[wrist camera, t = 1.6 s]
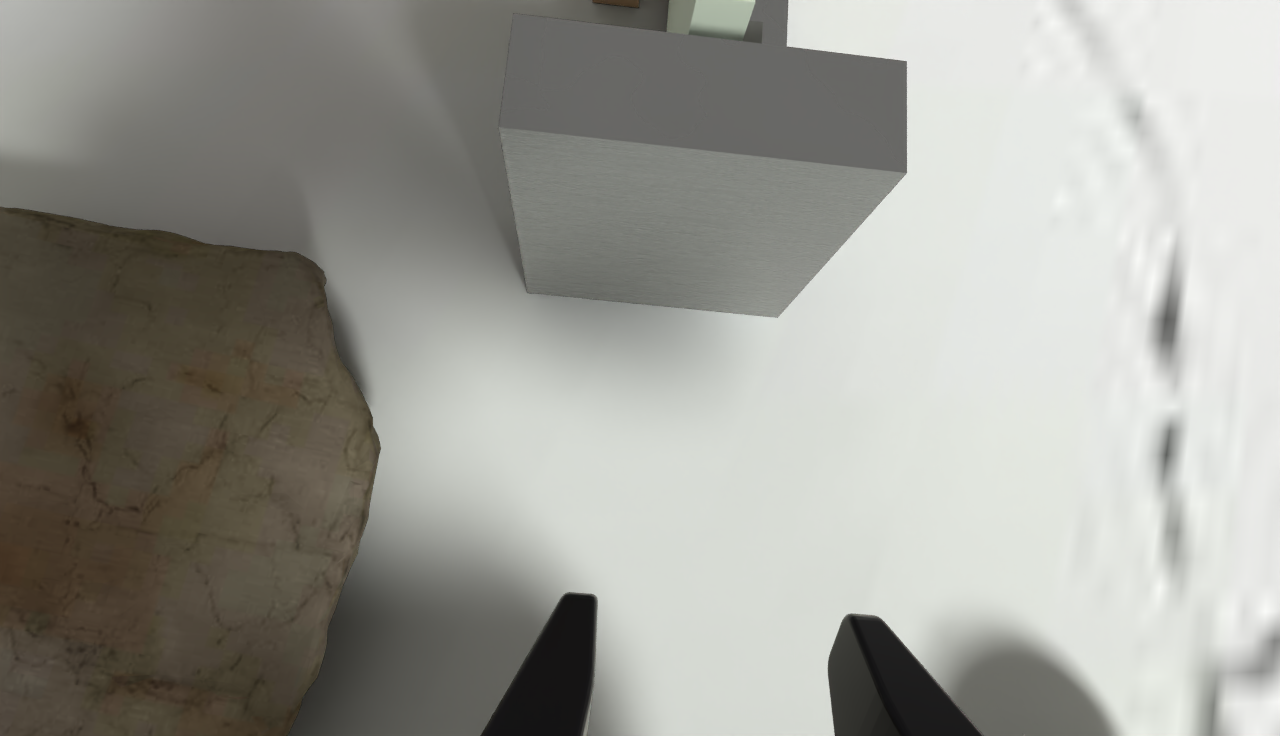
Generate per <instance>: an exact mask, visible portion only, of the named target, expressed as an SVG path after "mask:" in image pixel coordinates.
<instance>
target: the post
mask: <svg viewBox="0 0 1280 736" xmlns="http://www.w3.org/2000/svg"><path fill="white" fill-rule="evenodd" d="M593 2H595V3H603V4H611V5H619V6H627V7H635V8H638V7H639V0H593Z"/></svg>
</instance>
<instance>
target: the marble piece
mask: <svg viewBox="0 0 1280 736" xmlns="http://www.w3.org/2000/svg"><path fill="white" fill-rule="evenodd" d="M325 284H326V278H325V275H324V271H323V270H322V269H320V268H319V267H318V266H317V265H316V264H315V263H314V262H313V261H311V260H309V259H308V258H306V257H304V256H302V255H300V254H299V253H297V252H282V251H267V250H256V249H248V248H241V247H235V246H224V245H212V244H205V243H202V242H199V241H197V240H194V239H191V238H188V237H185V236H182V235H179V234H176V233H171V232H166V231H160V230H136V229H129V228H122V227H115V226H109V225H105V224H101V223H97V222H91V221H87V220H83V219H78V218H73V217H67V216H61V215H55V214H50V213H44V212H38V211H32V210H26V209H19V208H4V207H0V736H288V734H289V732H290V730H291V727H292V725H293V723H294V721H295V719H296V717H297V714H298V712H299V710H300V706H301V702H302V698H303V696H304V694H305V693H306V692H307V690H308V689H309V688H310V686H311V685H312V684H313V682H314V681H315V680H316V678H317V677H318V673H319V670H320V667H321V664H322V661H323V658H324V654H325V650H326V646H327V629H328V626H329V624H330V621H331V619H332V616H333V614H334V611H335V609H336V606H337V603H338V600H339V597H340V593H341V590H342V587H343V585H344V582H345V580H346V578H347V575H348V573H349V571H350V568H351V566H352V564H353V562H354V560H355V558H356V556H357V554H358V548H359V543H360V539H361V537H362V534H363V531H364V529H365V526H366V523H367V520H368V515H369V506H370V500H371V494H372V489H373V484H374V479H375V474H376V468H377V463H378V458H379V453H380V450H381V447H380V442H379V437H378V435H377V433H376V431H375V429H374V427H373V417H372V414H371V412H370V409H369V407H368V405H367V403H366V401H365V399H364V397H363V395H362V393H361V391H360V389H359V387H358V385H357V384H356V382H355V380H354V378H353V376H352V375H351V373H350V372H349V371H348V370H347V368H346V367H345V366H344V364H343V363H342V362H341V360H340V357H339V354H338V351H337V348H336V344H335V340H334V331H333V323H332V320H331V318H330V315H329V312H328V308H327V299H326V294H325V290H324V286H325Z"/></svg>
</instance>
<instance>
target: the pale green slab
mask: <svg viewBox="0 0 1280 736" xmlns="http://www.w3.org/2000/svg"><path fill="white" fill-rule="evenodd" d="M754 5H755V0H669V7H668V20H667V32H671V33H679V34H687V35H695V36H704V37H712V38H720V39H728V40H736V41H745V42H753V43H761V44H762V30H763V22H757V21H749V20H750V17H751V14H752V11H753V8H754Z"/></svg>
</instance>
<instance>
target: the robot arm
mask: <svg viewBox="0 0 1280 736" xmlns="http://www.w3.org/2000/svg"><path fill="white" fill-rule="evenodd" d="M597 606H598V601H597V597H596V596H595V595H594V594H586V593H573V592H568V593H565V594H564V595H563V596H562V597H561V599H560V600H559V602H558V604H557V606H556V607H555V609H554V611H553V612H552V614H551V616H550V618H549V619H548V621H547V623H546V624H545V626H544V628H543V630H542V631H541V633H540V635H539V636H538V638H537V640H536V642H535V643H534V645H533V647H532V649H531V650H530V652H529V654H528V655H527V657H526V659H525V661H524V662H523V664H522V666H521V667H520V669H519V671H518V673H517V674H516V676H515V678H514V679H513V681H512V683H511V685H510V686H509V688H508V690H507V691H506V693H505V695H504V697H503V698H502V700H501V702H500V703H499V705H498V707H497V709H496V710H495V712H494V714H493V715H492V717H491V719H490V721H489V722H488V724H487V726H486V728H485V729H484V731H483V733H482V734H481V736H587V733H588V726H589V718H590V710H591V703H592V695H593V688H594V677H595V659H596V632H597ZM828 679H829V688H830V697H831V706H832V715H833V724H834V733H835V736H983V734H982V733H981V732H980V731H979V730H978V729H977V728H976V726H975V725H974V724H973V723H972V722H971V721H970V719H969V718H968V717H967V716H966V715H965V714H964V713H963V711H962V710H961V709H960V708H959V707H958V706H957V705H956V703H955V702H954V701H953V700H952V699H951V698H950V696H949V695H948V694H947V693H946V692H945V691H944V690H943V688H942V687H941V686H940V685H939V684H938V683H937V682H936V680H935V679H934V678H933V677H932V676H931V675H930V674H929V672H928V671H927V670H926V669H925V668H924V667H923V665H922V664H921V663H920V662H919V661H918V660H917V659H916V657H915V656H914V655H913V654H912V653H911V652H910V651H909V649H908V648H907V647H906V646H905V645H904V644H903V642H902V641H901V640H900V639H899V638H898V637H897V636H896V634H895V633H894V632H893V631H892V630H891V629H890V628H889V626H888V625H887V624H886V623H885V622H884V621H883V620H882V619H881V618H879V617H877V616H874V615H863V614H848V615H846V616H845V617H844V618H843V620H842V622H841V625H840V628H839V631H838V633H837V636H836V639H835V641H834V644H833V647H832V650H831V652H830V655H829V660H828Z"/></svg>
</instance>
